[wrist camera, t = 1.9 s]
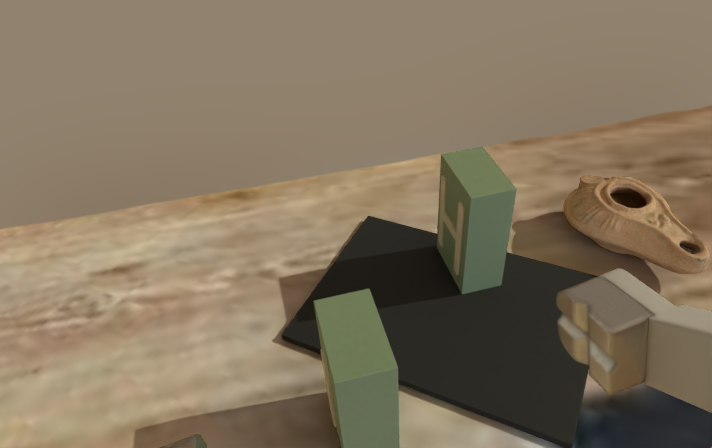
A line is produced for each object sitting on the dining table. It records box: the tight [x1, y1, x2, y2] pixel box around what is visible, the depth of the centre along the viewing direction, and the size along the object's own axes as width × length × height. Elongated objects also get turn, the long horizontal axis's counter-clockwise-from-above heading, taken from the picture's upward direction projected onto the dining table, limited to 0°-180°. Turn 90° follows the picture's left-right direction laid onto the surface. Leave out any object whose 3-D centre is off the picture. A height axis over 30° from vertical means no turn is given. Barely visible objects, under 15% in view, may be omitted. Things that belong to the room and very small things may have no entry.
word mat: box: [282, 216, 598, 448], centre depth 45 cm, size 22×16×1 cm
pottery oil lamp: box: [564, 175, 710, 274], centre depth 47 cm, size 9×12×7 cm
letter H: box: [437, 147, 516, 294], centre depth 44 cm, size 4×6×10 cm, turn 14°
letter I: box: [314, 289, 400, 448], centre depth 34 cm, size 4×6×10 cm, turn 14°
